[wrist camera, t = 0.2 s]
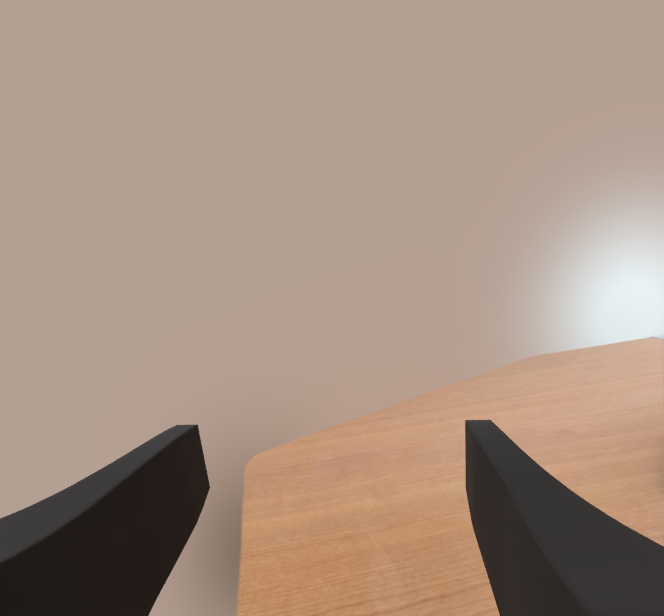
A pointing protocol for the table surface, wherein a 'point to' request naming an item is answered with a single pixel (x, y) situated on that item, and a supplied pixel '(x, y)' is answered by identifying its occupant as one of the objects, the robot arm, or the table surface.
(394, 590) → the table surface
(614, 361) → the table surface
